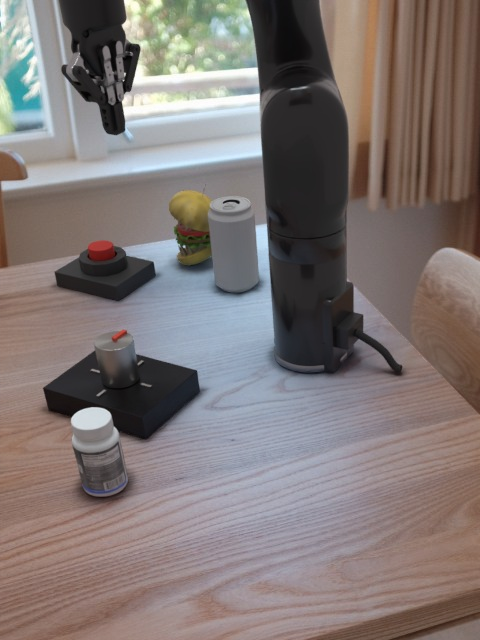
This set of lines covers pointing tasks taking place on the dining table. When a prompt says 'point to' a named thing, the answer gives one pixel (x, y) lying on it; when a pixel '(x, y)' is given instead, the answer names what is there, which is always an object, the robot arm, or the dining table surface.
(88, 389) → the panel
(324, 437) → the dining table surface
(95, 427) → the pill bottle
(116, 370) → the knob
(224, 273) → the beverage can
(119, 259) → the button block
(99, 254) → the button
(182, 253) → the hamburger
